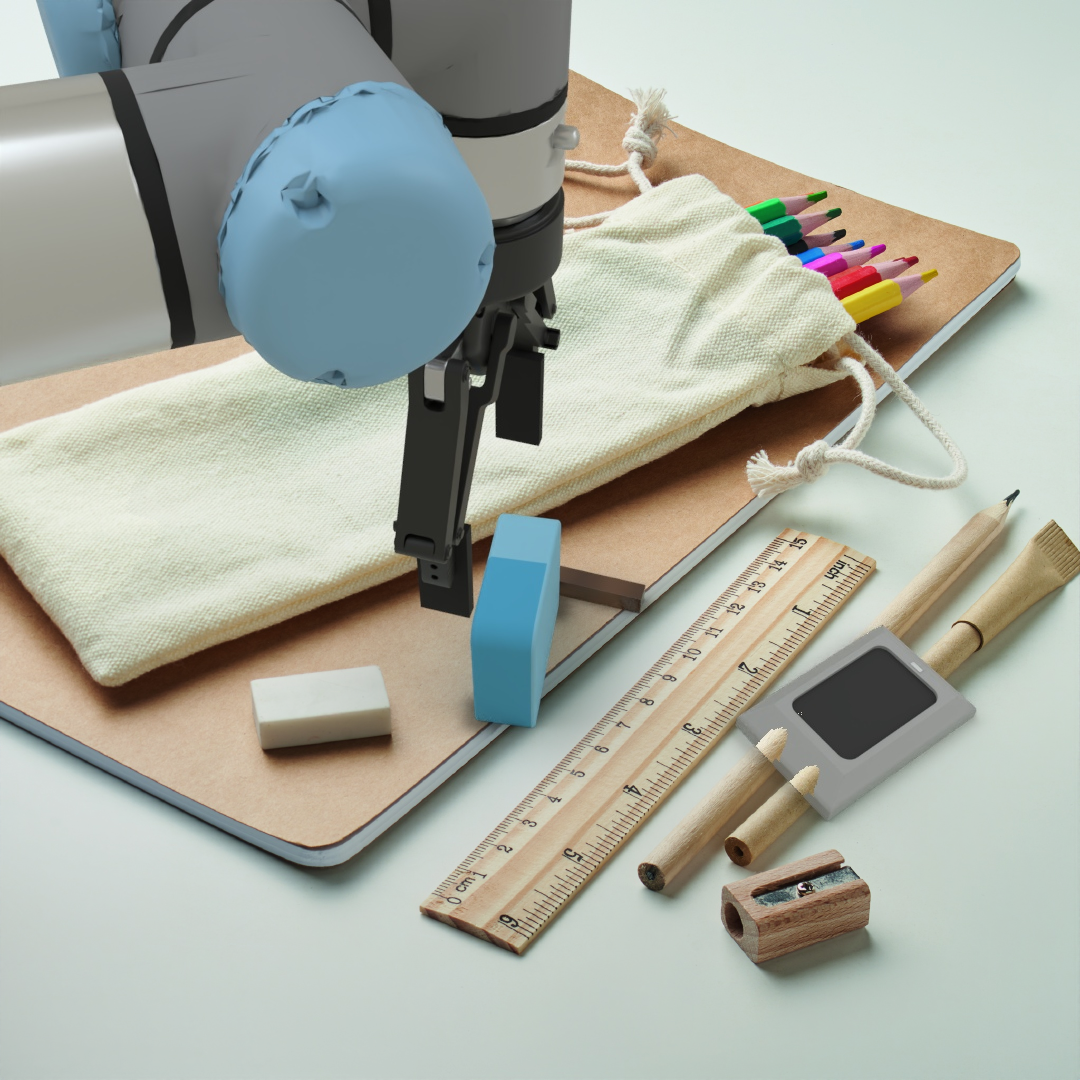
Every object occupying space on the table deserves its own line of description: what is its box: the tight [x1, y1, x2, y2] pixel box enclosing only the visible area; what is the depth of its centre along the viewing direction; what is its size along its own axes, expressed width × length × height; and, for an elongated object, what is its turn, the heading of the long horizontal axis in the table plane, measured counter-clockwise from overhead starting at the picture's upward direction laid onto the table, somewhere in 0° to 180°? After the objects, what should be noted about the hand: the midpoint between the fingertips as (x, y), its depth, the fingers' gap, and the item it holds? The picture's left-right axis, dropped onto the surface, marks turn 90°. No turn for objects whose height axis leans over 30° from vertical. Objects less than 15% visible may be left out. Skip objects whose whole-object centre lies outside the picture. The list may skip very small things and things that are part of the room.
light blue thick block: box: [470, 512, 562, 729], centre depth 89 cm, size 12×4×12 cm, turn 171°
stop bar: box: [559, 565, 646, 614], centre depth 97 cm, size 10×2×3 cm, turn 74°
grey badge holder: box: [735, 624, 977, 822], centre depth 89 cm, size 10×4×15 cm
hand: (485, 517), depth 68 cm, fingers open, 13 cm apart
